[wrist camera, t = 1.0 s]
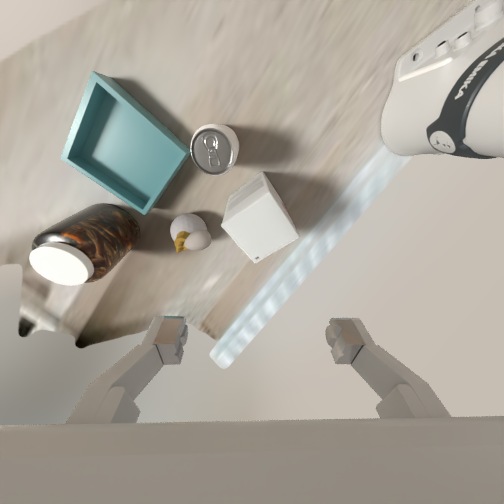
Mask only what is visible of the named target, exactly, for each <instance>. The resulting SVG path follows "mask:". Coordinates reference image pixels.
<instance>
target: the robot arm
mask: <svg viewBox="0 0 504 504" xmlns="http://www.w3.org/2000/svg"><path fill="white" fill-rule="evenodd" d="M414 55H415V60H414V61H413V56H414ZM381 133H382V138H383V141H384V143H385V145H386V146H387V148H388V149H389V150H390V151H392V152H393V153H395V154H397V155H401V156H412V155H418V154H444V153H446V154H450V155H454V156H461V157H469V158H478V159H490V158H496V157H502V158H504V0H473V1H472V2H471V3H470V4H468V5H467V6H466V7H464V8H463V9H462V10H461V11H459V12H458V13H457V14H455V15H454V16H453V17H451V18H450V19H449V20H448V21H446V22H445V23H444V24H442V25H441V26H440V27H439V28H437V29H436V30H435V31H433V32H432V33H431V34H429V35H428V36H427V37H426V38H424V39H423V40H422V41H420V42H419V43H418V44H417V45H415V46H414V47H413V48H411V49H410V50H409V51H407V52H406V53H405V54H404V55H402V56H401V57H400V59H399V60H398V62H397V64H396V68H395V73H394V81H393V87H392V90H391V92H390V94H389V97H388V99H387V101H386V104H385V107H384V110H383V114H382V120H381ZM185 323H186V317H182V316H156V317H155V318H154V319H153V321H152V323H151V325H150V327H149V329H148V331H147V334H146V336H145V338H144V340H143V342H142V344H141V345H137V346H136V347H135V348H134V349H132V350H131V351H130V352H129V353H128V354H126V355H125V356H124V357H123V358H121V359H120V360H119V361H118V362H117V363H115V364H114V365H113V366H112V367H111V368H109V369H108V370H107V371H106V372H105V373H103V374H102V375H101V376H100V377H99V378H97V379H96V380H95V381H94V382H92V383H91V384H90V385H89V386H88V388H87V389H86V391H85V393H84V394H83V396H82V397H81V399H80V401H79V402H78V404H77V406H76V407H75V409H74V410H73V412H72V414H71V416H70V417H69V419H68V420H67V422H66V424H58V425H57V424H52V425H6V426H5V425H4V426H0V504H504V416H489V417H488V416H486V417H451V415H450V414H449V412H448V411H447V410H446V409H445V407H444V405H443V404H442V403H441V401H440V400H439V398H438V397H437V396H436V394H435V393H434V391H433V390H432V389H431V387H430V386H429V384H428V383H427V382H425V381H424V380H423V379H421V378H420V377H419V376H418V375H416V374H415V373H414V372H412V371H411V370H410V369H409V368H407V367H406V366H405V365H403V364H402V363H401V362H399V361H398V360H397V359H396V358H394V357H393V356H392V355H390V354H389V353H388V352H387V351H385V350H384V349H383V348H381V347H380V346H379V345H378V346H377V345H375V343H374V341H373V340H372V338H371V336H370V335H369V333H368V332H367V330H366V328H365V326H364V325H363V323H362V321H361V320H360V319H359V318H331V319H330V321H329V323H330V325H329V326H328V327H327V329H326V340H327V342H328V344H329V345H330V346H331V347H332V350H331V353H332V355H333V358H334V361H335V363H336V364H351V366H352V367H353V368H354V369H355V370H356V371H357V372H358V373H359V374H360V376H361V377H362V378H363V379H364V380H365V381H366V382H367V383H368V384H369V385H370V387H372V389H374V391H375V392H376V393H377V394H378V395H379V396H380V397H381V398H382V401H381V402H380V403H379V404H378V405H377V406H376V409H377V412H378V414H379V416H380V418H379V419H378V418H377V419H327V420H325V419H323V420H269V421H216V422H165V423H164V422H163V423H162V422H160V423H136V422H137V419H138V417H139V414H140V410H139V408H138V407H137V405H136V404H135V402H134V399H135V398H136V397H137V396H138V395H139V394H140V392H141V391H142V390H143V389H144V388H145V387H146V385H147V384H148V383H149V382H150V381H151V380H152V378H153V377H154V376H155V375H156V374H157V373H158V371H159V370H160V369H161V368H162V367H163V365H167V364H180V363H181V359H182V356H183V352H184V351H183V346H184V345H185V344H186V340H187V336H188V327H187V325H186V324H185Z"/></svg>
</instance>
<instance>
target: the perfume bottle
mask: <svg viewBox="0 0 504 504" xmlns="http://www.w3.org/2000/svg"><path fill="white" fill-rule="evenodd" d="M170 233H171V237H172V239H173V240H174V244H175V247H176V251H177V253H179V252H181V251H184V250H187V249H189V250H202V249H205V248H207V247H208V246H209V245H210V243H211V235H210V234H209V232H207V227H206V224H205V223H204V221H203V220H202V219H201V218H200V217H199V216H197V215H195V214H190V213H187V214H182V215H179V216H178V217H177V218H175V219H174V221H173V222H172V224H171V227H170Z"/></svg>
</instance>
